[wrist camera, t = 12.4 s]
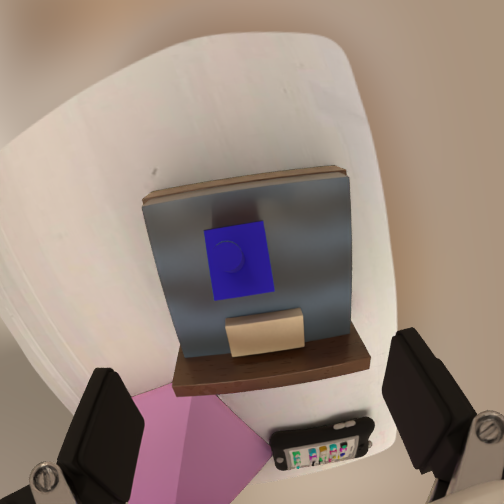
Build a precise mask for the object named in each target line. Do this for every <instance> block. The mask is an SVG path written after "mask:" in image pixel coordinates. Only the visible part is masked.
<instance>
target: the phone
mask: <svg viewBox="0 0 504 504" xmlns="http://www.w3.org/2000/svg"><path fill="white" fill-rule="evenodd" d="M374 427H375V423H374V421H373V420H372V419H371V418H369V417H361V418H358V419H357V418H355V419H353V420H350V421H347V422H343V423H338V424H333V425H329V426H324V427H318V428H313V429H306V430H293V431H279V432H276V433H274V434H273V435H272V436H271V437H270V441H269V444H270V447H271V450H272V453H273V457H274V462H275V466H276V468H277V469H279V470H282V471H285V470H291V469H294V468H297V469H299V468H302V467H309V466H315V465H324V464H327V463H333V462H338V461H343V460H348V459H353V458H359V457H362V456H364V455H365V454H366V453H367V452H368V448H370V447H371V446H372V442H371V441H368V439H369V436H370V435H371V433H372V432H373V430H374Z"/></svg>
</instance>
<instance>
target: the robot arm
mask: <svg viewBox="0 0 504 504" xmlns="http://www.w3.org/2000/svg"><path fill="white" fill-rule="evenodd" d="M382 395H383V398H384V400H385V402H386V404H387V407H388V409H389V411H390V413H391V415H392V418H393V420H394V422H395V424H396V427H397V429H398V431H399V433H400V436H401V438H402V440H403V443H404V445H405V447H406V450H407V452H408V454H409V457H410V459H411V462H412V464H413V466H414V468H415V469H419V470H420V472H421V474H425V473H427V472H429V471H432V472H433V474H434V476H435V478H436V479H435V481H434V484H433V487H432V489H431V491H430V494H429V496H428V499H427V501H426V503H425V504H504V416H503V415H502V414H500V413H498V412H496V411H484V412H481V413H479V414H478V415H477V413H476V412H475V410H474V409H473V407H472V405H471V404H470V402H469V401H468V399H467V398H466V396H465V395H464V393H463V392H462V390H461V389H460V387H459V386H458V384H457V383H456V381H455V380H454V378H453V377H452V375H451V374H450V372H449V371H448V370H447V368H446V367H445V365H444V364H443V362H442V361H441V360H440V359H438V358H436V357H435V356H434V354H433V353H432V351H431V350H430V349H429V347H428V346H427V344H426V343H425V342H424V340H423V339H422V338H421V336H420V335H419V334H418V332H417V331H416V330H415V328H413V327H411V328H407V329H404V330H400V331H397V332H396V335H395V336H393V337H392V340H391V345H390V351H389V356H388V362H387V367H386V371H385V376H384V381H383V385H382ZM144 427H145V421H144V418H143V416H142V414H141V413H140V411H139V409H138V408H137V406H136V404H135V403H134V401H133V399H132V398H131V396H130V394H129V392H128V391H127V389H126V387H125V385H124V383H123V382H122V380H121V378H120V376H119V374H118V373H117V372H114V370H113V369H112V368H96V369H95V370H94V371H93V374H92V376H91V378H90V380H89V382H88V385H87V387H86V389H85V391H84V394H83V396H82V398H81V400H80V403H79V405H78V408H77V410H76V412H75V415H74V417H73V420H72V422H71V424H70V427H69V429H68V432H67V434H66V437H65V440H64V442H63V445H62V447H61V450H60V453H59V456H58V458H57V463H56V464H55V463H53V462H50V461H49V462H48V461H45V462H41V463H39V464H37V465H36V466H35V467H34V468H33V469H32V471H31V474H30V477H29V482H30V484H29V485H27V486H25V487H23V488H22V489H20V490H18V491H16V492H14V493H12V494H10V495H8V496H6V497H4V498H2V499H1V500H0V504H125V503H126V502H128V501H129V500H130V496H131V491H132V485H133V480H134V475H135V470H136V465H137V460H138V455H139V450H140V445H141V441H142V436H143V432H144Z"/></svg>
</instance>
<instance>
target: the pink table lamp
mask: <svg viewBox="0 0 504 504" xmlns="http://www.w3.org/2000/svg"><path fill="white" fill-rule="evenodd" d="M131 398H132V399H133V401H134V403H135V404H136V406H137V408H138V409H139V411H140V413H141V414H142V416H143V418H144V421H145V427H144V432H143V436H142V441H141V445H140V450H139V455H138V460H137V465H136V470H135V475H134V480H133V485H132V491H131V496H130V500H129V501H128V503H129V504H230V503H231V502H232V501H233V500H234V499H235V498H236V496H237V495H238V494H239V493H240V492H241V491H242V490H243V489H244V488H245V487H246V486H247V484H248V483H249V482H250V481H251V480H252V479H253V478H254V477H255V475H256V474H257V473H258V472H259V471H260V470H261V468H262V467H263V466H264V465H265V464H266V463H267V461H268V460H269V459H270V458H271V456H272V450H271V447H270V445H268V444H267V443H266V442H265V441H264V440H263V439H262V438H260V437H259V436H258V435H257V434H256V433H255V432H254V431H253V430H252V429H250V428H249V427H248V426H247V425H246V424H245V423H244V422H243V421H242V420H241V419H240V418H239V417H238V416H237V415H236V414H234V413H233V412H232V411H231V410H230V409H229V408H228V407H227V406H226V405H225V404H224V403H223V402H222V401H221V400H220V399H219V398H218V397H217V396H216V395H205V396H190V397H176V395H175V393H174V391H173V388H172V383H170V384H167V385H165V386H162V387H159V388H156V389H154V390H151V391H148V392H145V393H142V394H139V395H136V396H134V397H131Z"/></svg>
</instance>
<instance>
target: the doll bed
mask: <svg viewBox="0 0 504 504" xmlns="http://www.w3.org/2000/svg"><path fill="white" fill-rule="evenodd" d="M142 201H143V206H142V211H143V215H144V219H145V224H146V228H147V232H148V236H149V240H150V244H151V248H152V252H153V255H154V259H155V263H156V267H157V270H158V274H159V277H160V281H161V284H162V288H163V291H164V295H165V298H166V302H167V305H168V308H169V311H170V315H171V318H172V321H173V324H174V327H175V330H176V333H177V336H178V339H179V342H180V348H179V352H178V357H177V362H176V367H175V372H174V377H173V382H172V388H173V391H174V393H175V395H176V397H190V396H205V395H217V394H228V393H237V392H246V391H254V390H262V389H269V388H276V387H283V386H289V385H295V384H301V383H306V382H312V381H317V380H322V379H327V378H332V377H337V376H341V375H346V374H350V373H354V372H359V371H363V370H367V369H369V367H370V360H371V356H370V355H369V353H368V351H367V349H366V347H365V345H364V343H363V342H362V340H361V338H360V336H359V334H358V332H357V331H356V329H355V327H354V325H353V323H352V322H351V295H352V229H351V201H350V182H349V176H347V174H346V170H345V169H343V168H340V167H337V166H335V165H333V166H322V167H312V168H302V169H293V170H285V171H277V172H269V173H261V174H254V175H246V176H239V177H233V178H226V179H220V180H213V181H207V182H201V183H196V184H190V185H184V186H179V187H173V188H168V189H163V190H158V191H153V192H151V193H149V194H148V195H147V196H146V197H144V198H143V199H142ZM261 220H263V221H264V227H265V233H266V239H267V245H268V251H269V257H270V263H271V269H272V275H273V281H274V288H275V291H274V292H268V293H262V294H256V295H250V296H243V297H237V298H230V299H224V300H217V301H214V298H213V292H212V285H211V279H210V273H209V266H208V259H207V252H206V246H205V238H204V231H203V230H207V229H213V228H219V227H225V226H231V225H237V224H243V223H249V222H255V221H261Z"/></svg>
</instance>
